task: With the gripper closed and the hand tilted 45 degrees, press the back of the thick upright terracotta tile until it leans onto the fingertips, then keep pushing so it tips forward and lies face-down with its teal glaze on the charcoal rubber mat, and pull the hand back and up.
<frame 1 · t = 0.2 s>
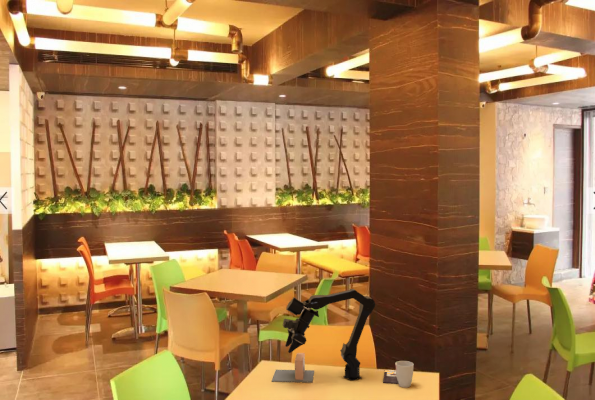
hand: (287, 349, 254), 15 cm above the table, tool tilted 30°, fingers open, 9 cm apart
mat: (293, 376, 260), on the table
chocolate bar: (393, 378, 258), on the table
tile: (300, 366, 260), point 5 cm above the table, touching mat
cup: (404, 386, 247), on the table
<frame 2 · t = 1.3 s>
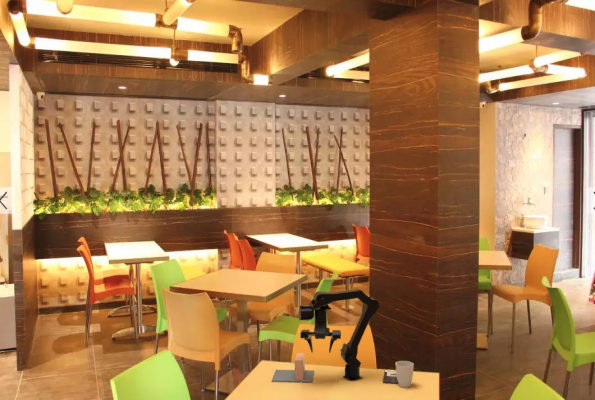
hand: (320, 352, 254), 13 cm above the table, tool pointing down, fingers open, 8 cm apart
nothing on the table moved.
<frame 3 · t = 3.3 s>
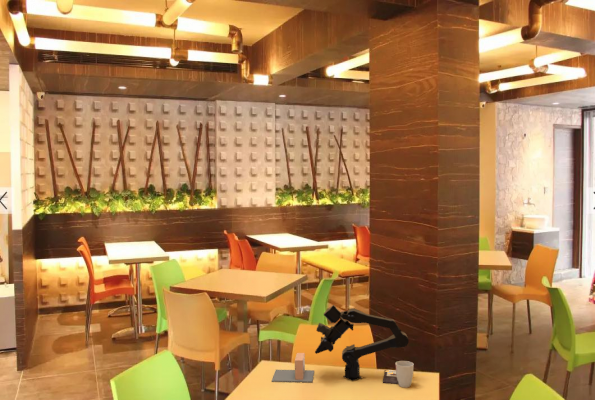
hand: (315, 352, 259), 12 cm above the table, tool tilted 45°, fingers closed
nothing on the table moved.
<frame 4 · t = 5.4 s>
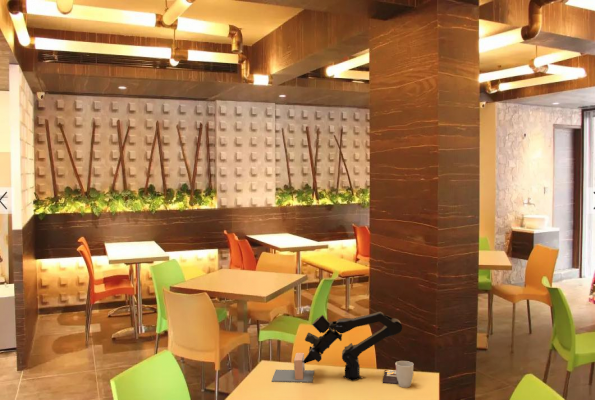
hand: (303, 362, 260), 7 cm above the table, tool tilted 45°, fingers closed, pressing on tile
tile: (299, 365, 260), point 5 cm above the table, touching gripper, mat
everything else where it was.
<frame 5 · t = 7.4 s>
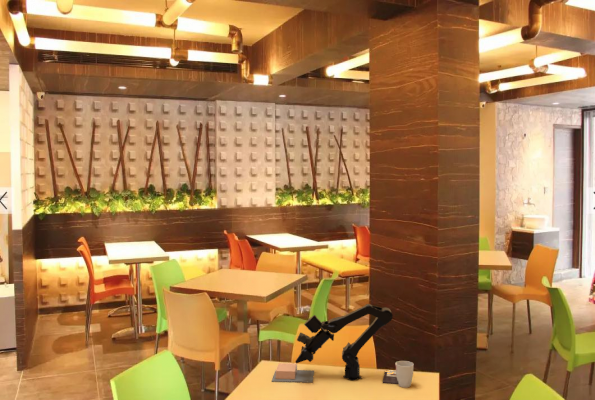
hand: (295, 362, 260), 7 cm above the table, tool tilted 45°, fingers closed
tile: (286, 370, 260), point 3 cm above the table, tilted 90°, touching mat
everything else where it was.
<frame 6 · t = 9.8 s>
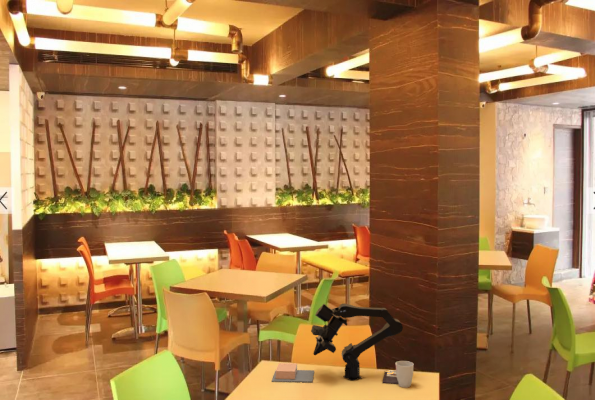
hand: (314, 354, 257), 11 cm above the table, tool tilted 35°, fingers closed
nothing on the table moved.
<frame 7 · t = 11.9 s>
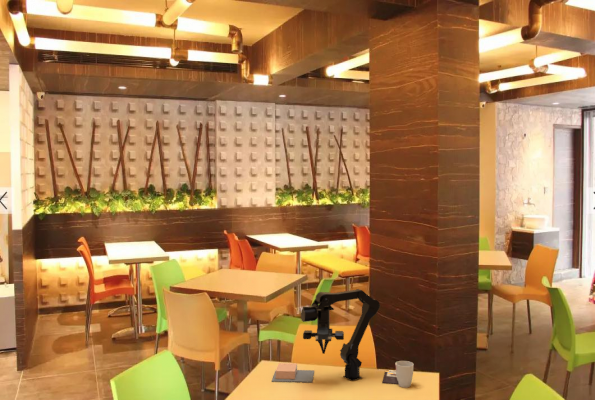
hand: (323, 353, 253), 13 cm above the table, tool pointing down, fingers closed
nothing on the table moved.
at the end: tile tilted 90°; tile inside the target area (0.1 cm from its centre), point 2.6 cm above the table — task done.
